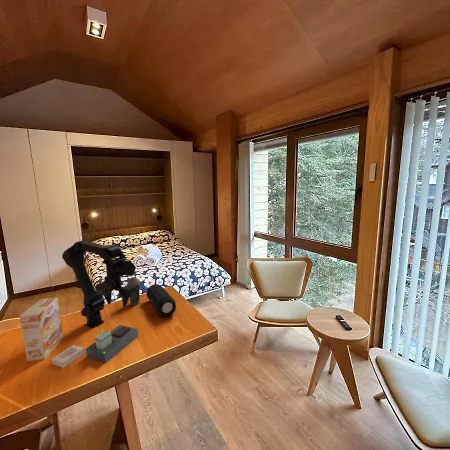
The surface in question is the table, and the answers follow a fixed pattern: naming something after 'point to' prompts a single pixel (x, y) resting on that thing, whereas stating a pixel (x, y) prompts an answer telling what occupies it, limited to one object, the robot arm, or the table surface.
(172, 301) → the portable speaker
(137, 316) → the table surface
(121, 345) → the panel
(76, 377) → the table surface
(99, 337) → the plug
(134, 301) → the beverage cup
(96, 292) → the robot arm
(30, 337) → the coffeecake box
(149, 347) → the table surface
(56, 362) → the light grey tray
